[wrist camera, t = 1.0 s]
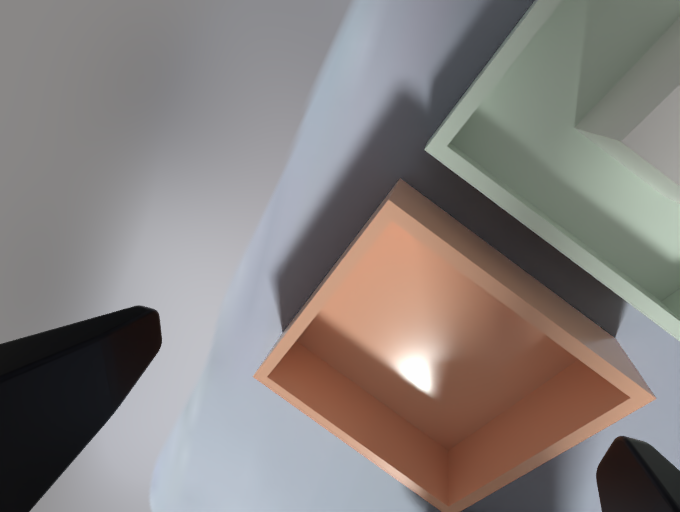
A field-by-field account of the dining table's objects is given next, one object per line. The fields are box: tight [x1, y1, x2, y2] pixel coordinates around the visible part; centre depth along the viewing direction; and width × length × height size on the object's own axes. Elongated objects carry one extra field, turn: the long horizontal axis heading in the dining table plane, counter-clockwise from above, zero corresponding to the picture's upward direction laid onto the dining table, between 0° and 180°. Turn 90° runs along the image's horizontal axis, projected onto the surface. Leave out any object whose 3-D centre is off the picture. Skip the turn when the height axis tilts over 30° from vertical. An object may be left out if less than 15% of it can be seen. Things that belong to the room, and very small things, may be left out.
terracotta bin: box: [253, 178, 657, 512], centre depth 19 cm, size 13×12×4 cm
